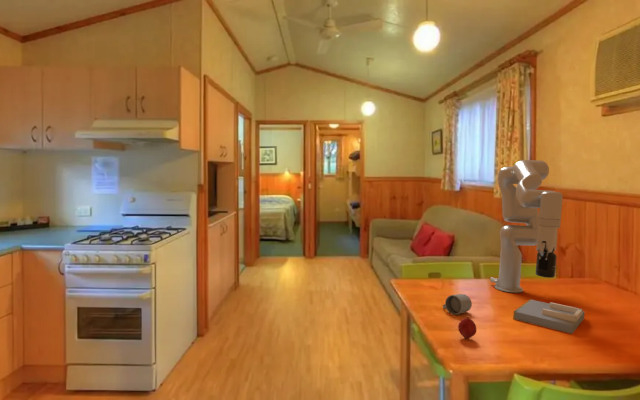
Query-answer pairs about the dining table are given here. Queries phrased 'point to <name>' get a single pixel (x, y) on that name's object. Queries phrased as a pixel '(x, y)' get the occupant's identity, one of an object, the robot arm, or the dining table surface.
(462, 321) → the onion
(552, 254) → the supplement bottle
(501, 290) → the robot arm
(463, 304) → the ceramic mug
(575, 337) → the dining table surface
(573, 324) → the dock
